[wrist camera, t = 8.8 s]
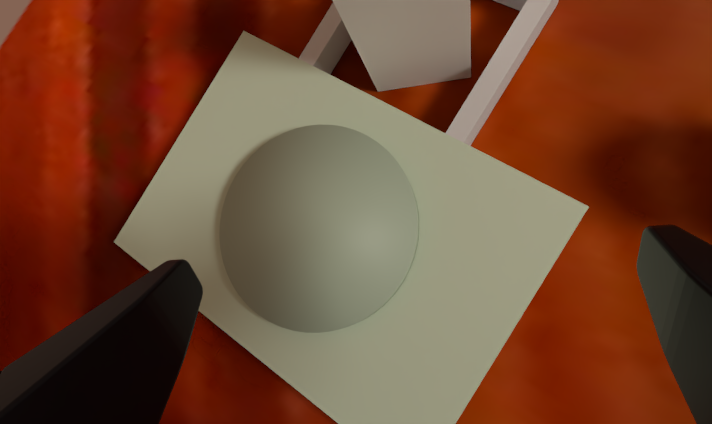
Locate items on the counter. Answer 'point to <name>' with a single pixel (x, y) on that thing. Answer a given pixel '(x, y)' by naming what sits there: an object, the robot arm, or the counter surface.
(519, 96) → the counter surface
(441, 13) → the grey tall block
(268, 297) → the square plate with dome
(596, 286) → the counter surface
